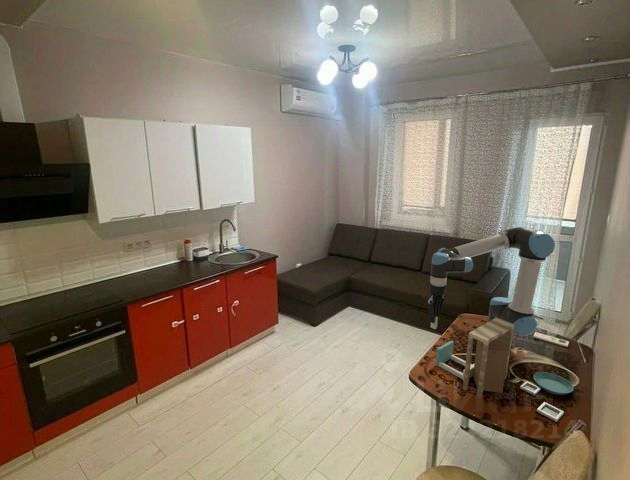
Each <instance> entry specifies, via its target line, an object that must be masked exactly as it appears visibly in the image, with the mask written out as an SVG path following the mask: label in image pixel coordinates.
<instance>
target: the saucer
mask: <svg viewBox="0 0 630 480" xmlns="http://www.w3.org/2000/svg"><path fill="white" fill-rule="evenodd" d="M533 380H534V382H535V383H536V385H537V386H538V387H540V388H541V390H544V391H546V392H548V393H550V394H552V395H559V396H560V395H561V396H562V395H563V396H564V395H568V394H570V393H572V392H573V391H574V389H575V388H574V385H573V384H572V383H571V382H570V381H569V380H567V379H566V378H564V377H563V376H560V375H558V374H555V373H552V372H546V371H541V372H540V371H539V372H536V373H534V375H533Z"/></svg>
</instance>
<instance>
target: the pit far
mask: <svg viewBox="0 0 630 480" xmlns="http://www.w3.org/2000/svg"><path fill="white" fill-rule="evenodd" d="M536 412H537V413H538V414H541V416H544V417H546V418H547V419H550V420H551V421H554V422H556V423H557V422H558V421H559V420H560V419H561V418H562V417H563V415H564V413H565V411H564V410H562V409H560V408H557V407H556V406H553V405H552V404H549V403H548V402H545V401H544V402H543V403H541V405H540V406H538V408H536Z"/></svg>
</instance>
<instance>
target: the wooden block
mask: <svg viewBox="0 0 630 480" xmlns="http://www.w3.org/2000/svg"><path fill="white" fill-rule="evenodd" d="M483 343H484V342H482V341H479V340H477V339H476V349H475V357H474V363H473V364H474V372H473V376H472V378H473V380H474V382H475V385H476V387H477V389H478V383H479V375H480V367H481V359H482V351H483ZM507 358H508V351H507V350H506V348H505V347H504V345H503V343H502V342H501V341H499V340H493V341H491V342H490V343H489V347H488V355H487V362H486V370H485V378H484V386H483V392H493V393H500V394H502V393H503V391H504V383H505V379H504V378H505V371H506V364H507Z"/></svg>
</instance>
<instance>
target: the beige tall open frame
mask: <svg viewBox="0 0 630 480" xmlns="http://www.w3.org/2000/svg"><path fill="white" fill-rule="evenodd" d="M513 329H514V324H512V323H509V322H507V321H504V320H501V319H498V318H495V319H493V320H491V321H489V322H488V321H487V322H485V323H484V324H482V325H479V327H477V328H475V329H473V330H471V331H470V332H468V338H467V339H468V340H467V349H466V355H465V361H466V363H465V366H464V370H465V372H464V380H462V381H463V382H462V383H463V384H462V390H464V391H467V390H468V389H469V381H470V378H469V373H470V365H471V364H472V354H473V348H474V347H473V346H474V339H475V340H476V341H477V340H479V341H482V342H484V343H483V351H482V359H481V367H480V375H479V383H478V388H477V391H476V392H477V393H476V398H478V399H480V400H481V399H483V392H484V391H483V386H484V378H485V370H486V362H487V355H488V347H489V343H490V342H491V341H493V340H499V341H501V342H502V343H503V345H504V347H505V348H506V350H507V351H508V358H507V364H506V371H505V378H504V380H506V379H507V375H508V368H509V362H510V354H511V350H512V349H511V348H512V342H513V341H512V336H513V337H514V333H513Z"/></svg>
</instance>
